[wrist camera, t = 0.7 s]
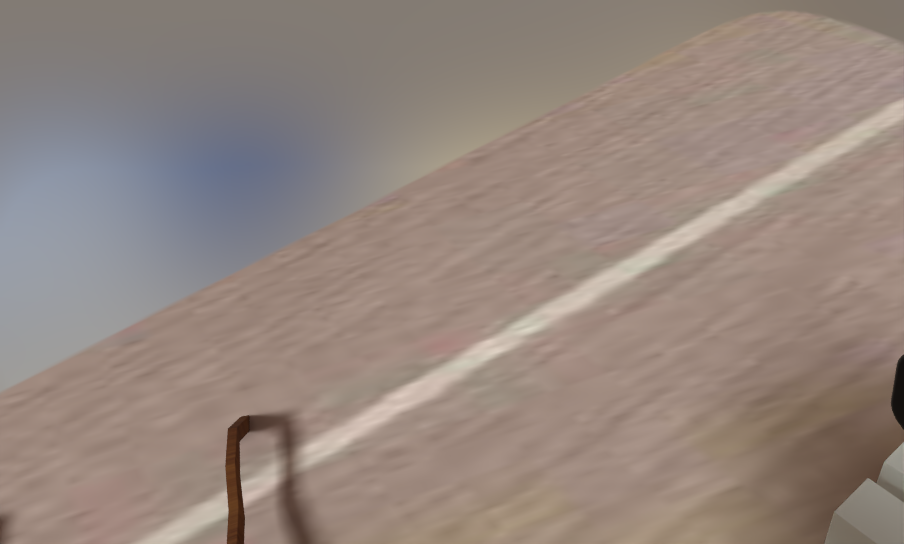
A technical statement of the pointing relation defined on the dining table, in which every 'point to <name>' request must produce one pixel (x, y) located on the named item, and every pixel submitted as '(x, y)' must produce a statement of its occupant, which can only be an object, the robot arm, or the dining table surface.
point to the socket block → (873, 508)
